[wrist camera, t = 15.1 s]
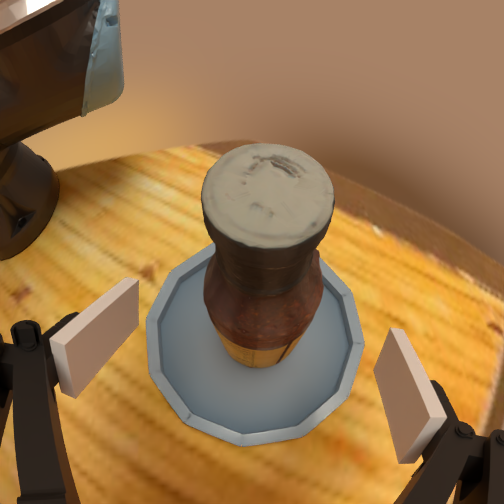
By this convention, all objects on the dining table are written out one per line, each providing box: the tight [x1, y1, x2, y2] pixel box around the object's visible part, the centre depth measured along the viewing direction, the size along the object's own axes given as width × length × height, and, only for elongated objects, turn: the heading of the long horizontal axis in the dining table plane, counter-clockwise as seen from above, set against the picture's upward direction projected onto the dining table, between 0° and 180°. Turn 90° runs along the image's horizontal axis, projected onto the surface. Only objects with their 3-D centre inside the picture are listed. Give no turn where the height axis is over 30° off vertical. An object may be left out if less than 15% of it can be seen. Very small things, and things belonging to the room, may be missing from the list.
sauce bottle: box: [201, 143, 335, 368], centre depth 18 cm, size 6×6×20 cm
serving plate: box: [146, 242, 365, 447], centre depth 27 cm, size 18×18×2 cm
